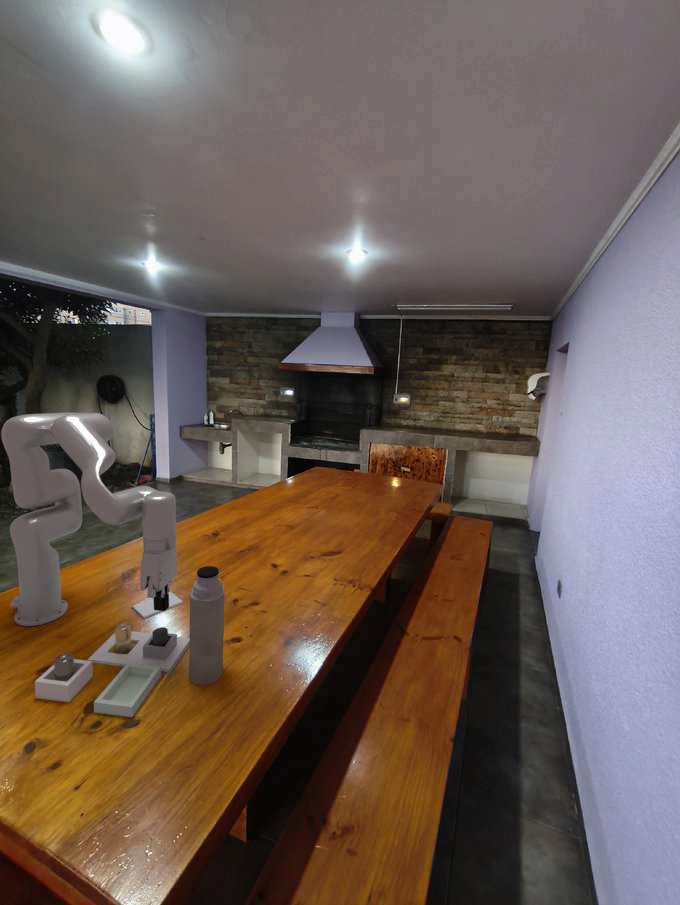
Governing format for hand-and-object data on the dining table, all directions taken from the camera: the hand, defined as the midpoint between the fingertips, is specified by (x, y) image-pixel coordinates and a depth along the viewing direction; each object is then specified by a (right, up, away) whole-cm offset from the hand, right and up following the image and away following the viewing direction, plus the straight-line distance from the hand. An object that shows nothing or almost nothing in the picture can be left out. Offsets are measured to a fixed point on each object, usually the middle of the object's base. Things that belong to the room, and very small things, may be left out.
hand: (161, 608), depth 100 cm
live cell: (-11, -13, +3) cm, 17 cm away
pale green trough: (-2, -16, -11) cm, 19 cm away
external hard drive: (-12, -9, +24) cm, 28 cm away
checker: (-6, -13, +3) cm, 15 cm away
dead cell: (-17, -14, -11) cm, 24 cm away
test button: (-1, -10, +2) cm, 11 cm away
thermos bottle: (+12, -16, -2) cm, 20 cm away
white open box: (-17, -14, -10) cm, 25 cm away
